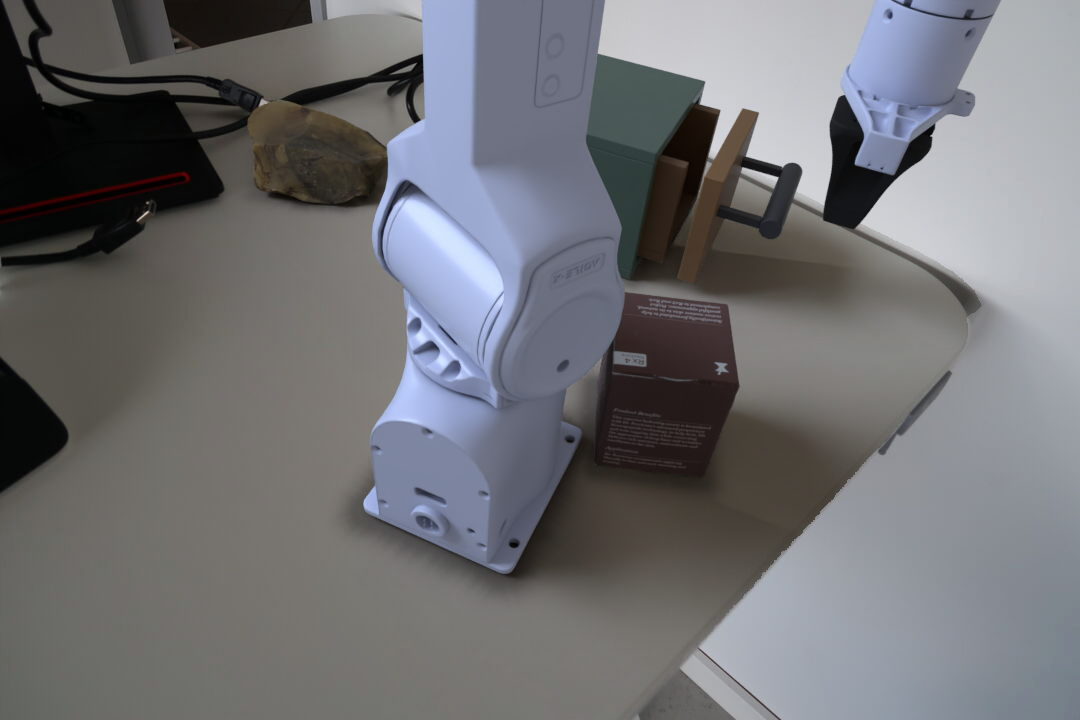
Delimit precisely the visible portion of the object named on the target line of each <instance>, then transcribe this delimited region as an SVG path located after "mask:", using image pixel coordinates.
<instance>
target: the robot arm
mask: <svg viewBox="0 0 1080 720" xmlns="http://www.w3.org/2000/svg"><path fill="white" fill-rule="evenodd" d="M1001 2H1002V0H874V1H873V5H872V7H871V10H870V13H869V15H868V18H867V20H866V23H865V26H864V28H863V31H862V34H861V36H860V39H859V42H858V44H857V47H856V49H855V51H854V54H853V57H852V60H851V62H850V63H849V64H847V65H846V67H845V68H844V70H843V73H842V75H841V78H840V84H839V85H840V88H841V90H842V92H843V94H842V95H840V96H838V98H837V101H836V103H835V106H834V109H833V111H832V115H831V117H830V121H829V125H828V126H829V139H830V144H831V169H830V170H831V171H830V176H829V180H828V184H827V185H828V186H827V191H826V195H825V199H824V204H823V212H822V221H823V222H826V223H829V224H831V225H835V226H839V227H843V228H846V229H849V230H855V229H857V228H858V226H859V225H860V224H861V223H862V222H863V221H864V220H865V218H866V217H867V216H868V215H869V214H870V212H871V210H872V209H873V208H874V207H875V205H876V204H877V202H878V201H879V200H880V198H881V197H882V196H883V195H884V193H885V192H886V191H887V190H888V188H890V187H891V185H893V183H894V182H895V181H896V180H897V179H899V177H900V176H902V175H903V174H904V173H905V172H907V171H908V170H909V169H911V168H913V166H916V165H917V164H918V163H920V162H922V161H923V160H924V158H925V157H927V155H928V154H929V152H930V151H931V150H932V146H933V136H932V135H933V134H934V132H935V130H936V125H937V123H938V122H939V121H940V120H942V119H943V118H944V117H946V116H948V115H954V116H957V117H963V118H965V117H969V116H970V115H971V113H972V112H973V110H974V108H975V106H976V95H975V94H974V93H973V92H971V91H968V90H964V89H961V88H959V86H960V84H961V81H962V80H963V78H964V76H965V74H966V72H967V70H968V68H969V65H970V64H971V62H972V60H973V57H974V56H975V53H976V52H977V49H978V47H979V45H980V44H981V42H982V39H983V37H984V35H985V34H986V32H987V30H988V27H989V26H990V23H991V21H992V20H993V18H994V15H995V14H996V12H997V10H998V8H999V6H1000V4H1001ZM605 4H606V0H421V25H422V30H421V31H422V59H423V60H422V61H423V64H422V65H423V66H422V67H423V94H424V95H423V97H424V98H423V100H424V118H423V119H421V120H419V121H417V122H415V123H414V124H412V125H410V126H409V127H407V128H405V129H404V130H403V131H401V132H400V133H398V134H397V135H396V136H394V137H393V138H392V139H390V140H389V141H388V143H387V145H386V148H387V155H388V160H387V178H386V184H385V189H384V192H383V194H382V196H381V199H380V202H379V204H378V207H377V209H376V212H375V214H374V219H373V223H372V230H371V242H372V248H373V252H374V256H375V258H376V260H377V261H378V263H379V265H380V266H381V268H382V269H383V270H384V271H385V272H386V273H387V274H388V275H389V276H390V277H392V278H393V279H394V280H395V281H396V282H398V283H399V284H401V285H402V286H403V287H402V288H403V289H402V290H403V302H404V303H403V304H404V309H405V310H406V312H407V314H406V338H407V339H406V343H407V344H406V345H407V346H406V354H405V355H406V356H405V364H404V368H403V372H402V376H401V379H400V382H399V385H398V387H397V389H396V392H395V394H394V396H393V398H392V400H391V402H389V404H388V406H387V407H386V408H385V410H384V411H383V413H382V415H381V416H380V418H379V419H378V420H377V421H376V423H375V425H374V426H373V428H372V431H371V432H370V436H369V448H370V458H371V463H372V471H373V479H374V480H373V481H374V486H373V487H372V489H371V490H370V491H369V493H368V494H367V496H365V498H364V500H363V510H364V512H365V513H367V514H368V515H370V516H371V517H374V518H377V519H379V520H381V521H383V522H385V523H387V524H390V525H392V526H394V527H397V528H399V529H401V530H403V531H405V532H407V533H410V534H412V535H415V536H416V537H419V538H420V539H423V540H426V541H428V542H430V543H432V544H434V545H436V546H438V547H441V548H443V549H446V550H447V551H450V552H452V553H453V554H456V555H459V556H461V557H463V558H465V559H468V560H470V561H472V562H474V563H477V564H479V565H481V566H483V567H485V568H488V569H490V570H492V571H494V572H497V573H498V574H502V575H506V574H510V573H512V572H513V570H514V569H515V568H516V566H517V564H518V562H519V560H520V559H521V557H522V554H523V553H524V550H525V548H526V547H527V545H528V543H529V541H530V539H531V538H532V535H533V533H534V531H535V530H536V527H537V525H538V524H539V522H540V520H541V518H542V516H543V515H544V512H545V511H546V508H547V507H548V505H549V502H550V501H551V499H552V497H553V495H554V494H555V491H556V490H557V487H558V485H559V484H560V482H561V480H562V478H563V477H564V474H565V472H566V470H567V468H568V466H570V465H569V464H570V463H571V461H572V459H573V457H574V455H575V453H576V451H577V449H578V448H579V446H580V444H581V442H582V439H583V435H584V434H583V431H582V429H581V428H580V427H579V426H576V425H573V424H571V423H569V422H566V421H563V414H564V407H565V401H566V395H567V389H568V388H570V387H571V386H573V385H574V384H576V383H577V382H578V381H580V380H581V379H582V378H583V377H584V376H586V375H587V374H588V373H589V372H590V371H591V370H592V369H593V368H594V367H595V366H596V364H597V363H598V362H599V361H600V360H602V357H603V355H604V353H605V352H606V350H607V349H608V347H609V346H610V344H611V342H612V341H613V339H614V337H615V335H616V332H617V330H618V327H619V324H620V321H621V316H622V311H623V307H624V298H625V292H626V291H625V284H624V281H623V279H622V277H621V276H620V273H619V271H618V265H617V253H618V246H619V241H620V236H621V231H622V227H621V223H620V220H619V218H618V215H617V213H616V211H615V208H614V206H613V204H612V201H611V199H610V197H609V195H608V192H607V190H606V188H605V186H604V184H603V182H602V180H601V177H600V175H599V173H598V171H597V169H596V167H595V164H594V162H593V160H592V157H591V155H590V153H589V150H588V147H587V144H586V135H587V128H588V120H589V113H590V106H591V99H592V92H593V84H594V77H595V70H596V63H597V56H598V54H599V47H600V40H601V33H602V27H603V20H604V19H603V18H604V12H605V6H606V5H605ZM568 441H572V442H568ZM513 543H515V544H517V545H518V546H517V547H511V546H510V544H513Z"/></svg>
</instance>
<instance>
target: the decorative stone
mask: <svg viewBox="0 0 1080 720" xmlns="http://www.w3.org/2000/svg"><path fill="white" fill-rule="evenodd" d="M246 127H247V132H248V133H249V137H250V138H251V139H252V146H251V149H252V152H253V155H254V159H253V168H252V177H253V178H252V179H253V183H254V186H255V187H256V189H257V190H259V191H260V192H261V191H262V192H266V193H273V194H281V195H286V196H290V197H293V198H295V199H297V200H300V201H302V202H308V203H314V204H324V205H332V204H333V205H339V204H344V203H345V202H348V201H350V200H352V199H354V198H358V197H362V198H368V197H369V196H370V193H371V192H372V191H373V190H374V188H376V186H377V185H378V184H379V182H380V180H381V178H382V176H383V173H384V171H385V169H386V166H387V165H388V155H387V146H385V145H384V144H383V143H381V142H380V140H378V139H376V138H375V137H374V135H372V134H371V133H370V132H369V131H368V130H365V129H362V128H361V127H359V126H357V125H355V124H353V123H351V122H349V121H348V120H345V119H343V118H341V117H338V116H335V115H333V114H330V113H327V112H325V111H321V110H317V109H314V108H310V107H308V106H303V105H300V104H297V103H295V102H291V101H288V100H283V99H279V98H277V99H274V100H272V101H269V102H267V103H264V104H261V105H259V106H257V107H256V108H255V109H254V110H253V111H252V112H251V114H250V115H249V117H247V125H246Z"/></svg>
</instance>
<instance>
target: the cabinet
mask: <svg viewBox="0 0 1080 720" xmlns="http://www.w3.org/2000/svg"><path fill="white" fill-rule="evenodd" d="M705 86H706V81H705V80H702V79H699V78H694V77H690V76H686V75H682V74H679V73H675V72H671V71H667V70H664V69H660V68H656V67H653V66H648V65H644V64H641V63H636V62H632V61H628V60H624V59H620V58H617V57H612V56H609V55H606V54H601V53H598V56H597V63H596V70H595V77H594V84H593V92H592V99H591V106H590V113H589V120H588V128H587V135H586V144H587V147H588V150H589V153H590V155H591V157H592V160H593V162H594V164H595V167H596V169H597V171H598V173H599V175H600V177H601V180H602V182H603V184H604V186H605V188H606V190H607V192H608V195H609V197H610V199H611V201H612V204H613V206H614V208H615V211H616V213H617V215H618V218H619V220H620V223H621V227H622V231H621V236H620V241H619V246H618V253H617V265H618V271H619V273H620V276H621V279H622V278H623V279H626V280H631V279H632V277H633V275H634V273H635V271H636V270H637V268H638V267H639V264H640V263H641V261H642V260H643V259H644V257H641V256H637V254H638V249H639V244H640V240H641V235H642V230H643V226H644V221H645V216H646V212H647V207H648V202H649V198H650V193H651V188H652V184H653V179H654V174H655V170H656V165H657V160H658V158H659V157H660V155H661V154H662V152H663V151H664V149H665V148H666V146H667V145H668V143H669V142H670V140H671V139H672V137H673V136H674V134H675V133H676V131H677V130H678V128H679V127H680V125H681V124H682V122H683V121H684V119H685V118H686V116H687V115H688V113H689V112H690V110H691V109H692V107H693V106H694V104H695V103H697V104H701V101H702V99H703V93H704V89H705Z"/></svg>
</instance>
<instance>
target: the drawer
mask: <svg viewBox="0 0 1080 720" xmlns="http://www.w3.org/2000/svg"><path fill="white" fill-rule="evenodd" d="M720 115H721V109H719V108H715V107H711V106H708V105H704V104H701V103H700V104H697V103H695V104H694V106H693V107H692V109H691V110H690V112H689V113H688V115H687V116H686V118H685V119H684V121H683V122H682V124H681V125H680V127H679V128H678V130H677V131H676V133H675V134H674V136H673V137H672V139H671V140H670V142H669V143H668V145H667V146H666V148H665V149H664V151H663V152H662V154H661V155H660V157H659V158H658V160H657V165H656V170H655V174H654V179H653V184H652V188H651V193H650V198H649V202H648V207H647V212H646V216H645V221H644V226H643V230H642V235H641V240H640V244H639V249H638V254H637V256H641V257H643V259H646V260H650V261H653V262H656V263H660V264H663V263H664V262H665V259H666V258H667V255H668V254H669V252H670V250H671V248H672V246H673V245H674V243H675V242H676V240H677V237H678V236H679V233H680V232H681V230H682V228H683V227H684V224H685V223H686V221H687V219H688V217H689V215H690V213H691V212H692V209H693V207H694V206H695V205H696V208H695V211H694V214H693V219H692V222H691V226H690V229H689V233H688V236H687V241H686V244H685V247H684V248H685V249H684V252H683V255H682V259H681V262H680V267H679V270H678V274H677V280H680V281H683V282H686V283H689V284H693V285H694V284H696V282H697V280H698V277H699V275H700V274H701V270H702V269H703V267H704V264H705V262H706V260H707V258H708V256H709V253H710V251H711V250H712V247H713V245H714V242H715V240H716V239H717V236H718V234H719V232H720V230H721V228H722V226H723V224H724V222H725V220H727V221H731V222H734V223H736V224H741V225H744V226H747V227H750V228H754V229H758V234H759V235H760V236H761V237H762V238H764V239H765V240H775V239H778V238H779V237H780V236H781V234H782V231H783V229H784V226H785V223H786V221H787V218H788V215H789V212H790V209H791V207H792V204H793V201H794V198H795V196H796V192H797V190H798V187H799V183H800V181H801V178H802V176H803V168H802V166H801V165H800V164H799V163H797V162H788V163H786V164H785V165H783V166H782V165H778V164H775V163H771V162H768V161H763V160H760V159H756V158H753V157H749V156H747V154H748V150H749V148H750V144H751V141H752V138H753V135H754V132H755V128H756V125H757V121H758V119H759V115H760V112H759V111H755V110H752V109H747V108H741V110H740V112H739V113H738V116H737V117H736V119H735V121H734V123H733V124H732V126H731V128H730V130H729V132H728V133H727V135H726V137H725V139H724V141H723V142H722V144H721V146H720V148H719V149H718V152H717V154H716V156H715V157H714V158H713V161H712V163H711V164H710V166H709V168H708V170H707V171H706V174H705V170H706V168H707V163H708V160H709V155H710V152H711V149H712V144H713V141H714V137H715V134H716V129H717V126H718V123H719V122H718V121H719V119H720ZM743 169H747V170H751V171H754V172H757V173H760V174H765V175H769V176H771V177H775V178H777V180H776V183H775V185H774V187H773V190H772V193H771V195H770V197H769V199H768V203H767V205H766V207H765V209H764V212H763V215H762V216H761V215H758V214H754V213H752V212H748V211H745V210H741V209H738V208H735V207H733V206H732V203H733V200H734V196H735V194H736V190H737V186H738V184H739V180H740V177H741V173H742V170H743ZM731 206H732V207H731Z"/></svg>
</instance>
